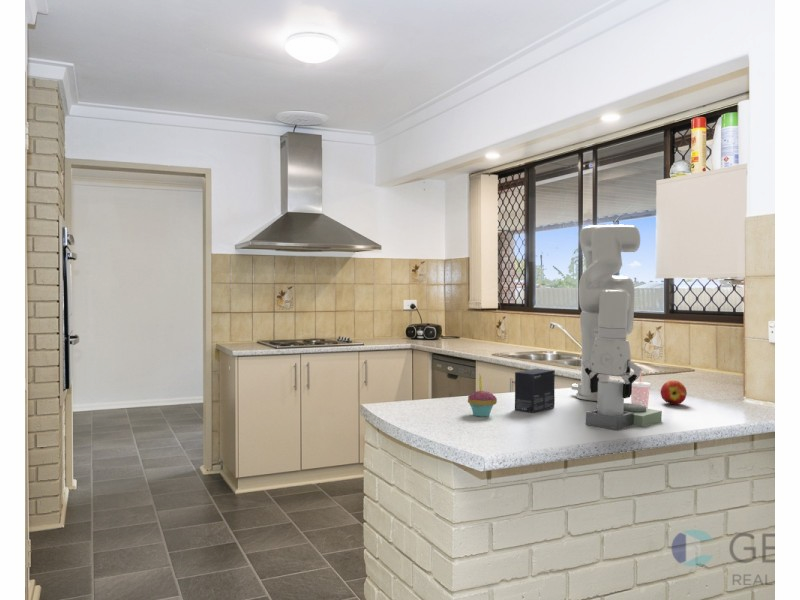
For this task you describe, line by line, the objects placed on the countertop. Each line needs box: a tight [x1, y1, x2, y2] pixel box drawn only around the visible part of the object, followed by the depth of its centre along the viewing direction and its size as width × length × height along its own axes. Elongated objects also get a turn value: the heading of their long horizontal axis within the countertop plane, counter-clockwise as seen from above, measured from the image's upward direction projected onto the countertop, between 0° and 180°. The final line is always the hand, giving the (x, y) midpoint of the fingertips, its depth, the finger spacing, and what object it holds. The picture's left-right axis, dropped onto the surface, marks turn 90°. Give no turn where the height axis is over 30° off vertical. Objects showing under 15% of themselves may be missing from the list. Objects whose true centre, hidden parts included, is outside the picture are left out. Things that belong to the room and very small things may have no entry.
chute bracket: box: [585, 409, 634, 431], centre depth 178 cm, size 9×10×4 cm
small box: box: [514, 368, 556, 414], centre depth 199 cm, size 13×7×12 cm, turn 137°
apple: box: [660, 379, 688, 405], centre depth 213 cm, size 8×8×8 cm
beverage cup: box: [630, 366, 652, 409], centre depth 198 cm, size 6×6×14 cm
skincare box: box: [596, 380, 625, 416], centre depth 178 cm, size 6×4×12 cm
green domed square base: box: [595, 402, 663, 428], centre depth 185 cm, size 14×12×4 cm
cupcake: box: [467, 373, 498, 418], centre depth 188 cm, size 9×8×12 cm
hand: (610, 394), depth 178 cm, fingers open, 9 cm apart
